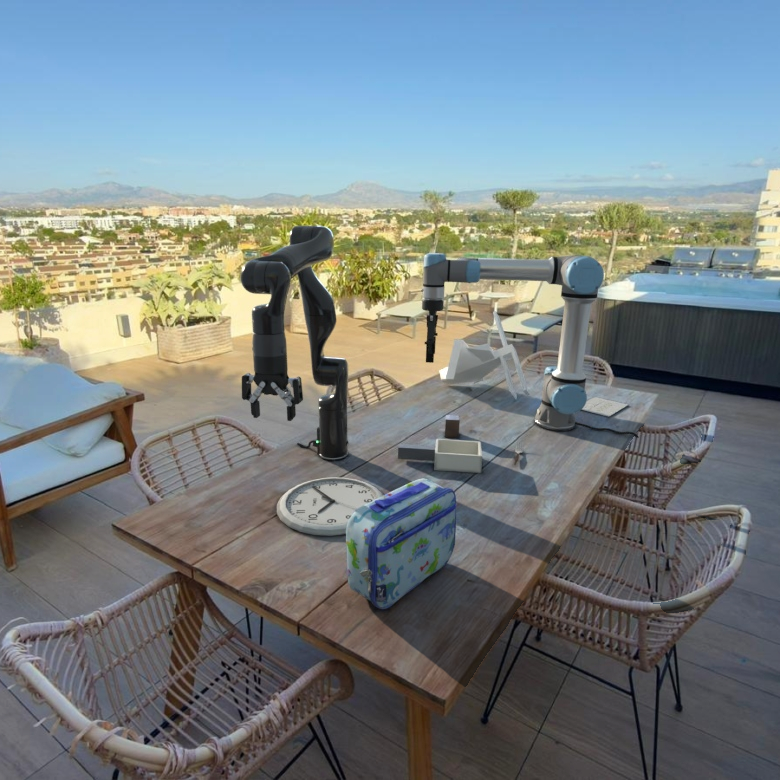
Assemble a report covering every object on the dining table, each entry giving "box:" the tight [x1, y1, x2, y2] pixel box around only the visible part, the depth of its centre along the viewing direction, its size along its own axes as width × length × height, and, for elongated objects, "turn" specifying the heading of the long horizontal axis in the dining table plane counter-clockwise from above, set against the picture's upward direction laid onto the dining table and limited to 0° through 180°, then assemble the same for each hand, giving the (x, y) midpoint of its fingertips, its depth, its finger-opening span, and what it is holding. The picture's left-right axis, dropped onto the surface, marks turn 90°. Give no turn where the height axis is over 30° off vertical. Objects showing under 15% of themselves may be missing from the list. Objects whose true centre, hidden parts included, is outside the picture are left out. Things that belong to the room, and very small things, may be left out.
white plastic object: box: [438, 310, 531, 400], centre depth 245 cm, size 37×45×31 cm
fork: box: [514, 442, 525, 466], centre depth 175 cm, size 3×16×2 cm, turn 160°
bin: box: [397, 438, 483, 474], centre depth 169 cm, size 27×12×6 cm, turn 83°
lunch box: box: [345, 477, 457, 610], centre depth 110 cm, size 26×11×21 cm, turn 134°
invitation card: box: [580, 396, 629, 418], centre depth 226 cm, size 21×1×15 cm
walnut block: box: [444, 414, 461, 439], centre depth 191 cm, size 5×5×7 cm
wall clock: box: [276, 476, 385, 537], centre depth 142 cm, size 30×2×30 cm
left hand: (273, 418), depth 124 cm, fingers open, 8 cm apart
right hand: (430, 357), depth 190 cm, fingers open, 13 cm apart
